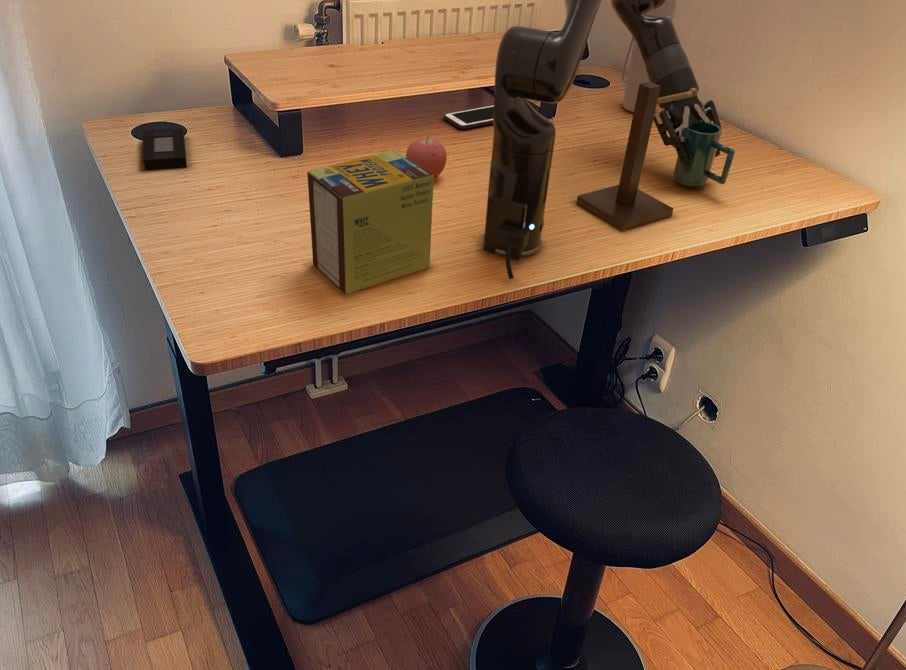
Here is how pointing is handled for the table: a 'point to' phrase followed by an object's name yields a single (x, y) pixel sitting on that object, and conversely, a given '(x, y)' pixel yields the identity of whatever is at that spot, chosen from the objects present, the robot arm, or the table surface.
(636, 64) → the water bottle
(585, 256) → the table surface
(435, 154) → the apple
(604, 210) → the mug stand
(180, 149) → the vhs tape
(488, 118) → the cell phone
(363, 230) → the protein box
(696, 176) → the mug
